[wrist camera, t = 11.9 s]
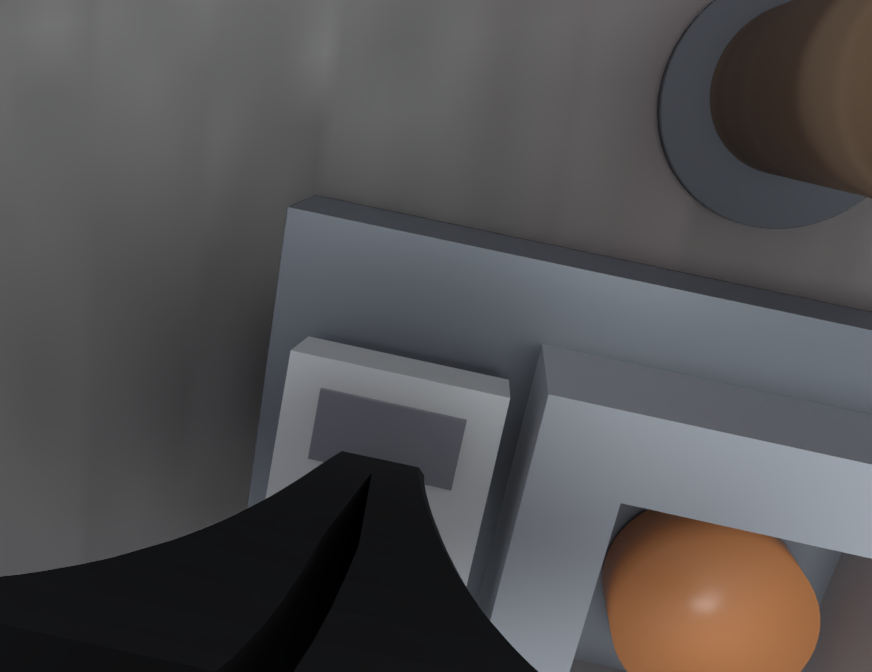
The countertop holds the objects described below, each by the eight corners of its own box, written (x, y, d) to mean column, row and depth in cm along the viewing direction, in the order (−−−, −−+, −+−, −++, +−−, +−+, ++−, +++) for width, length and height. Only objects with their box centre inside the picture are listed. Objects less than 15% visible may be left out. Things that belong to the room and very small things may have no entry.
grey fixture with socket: (251, 635, 19) (171, 795, 14) (315, 195, 16) (237, 228, 11) (772, 756, 18) (855, 960, 14) (950, 328, 15) (1132, 417, 11)
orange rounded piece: (582, 634, 15) (589, 684, 14) (629, 478, 14) (641, 516, 13) (758, 674, 15) (781, 728, 14) (819, 520, 14) (850, 563, 13)
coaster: (629, 199, 15) (632, 201, 15) (698, -55, 14) (703, -60, 13) (862, 247, 15) (871, 251, 14) (954, -5, 13) (967, -8, 13)
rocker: (248, 681, 15) (225, 727, 13) (308, 336, 13) (289, 351, 12) (429, 723, 15) (422, 774, 13) (508, 379, 13) (510, 400, 12)
